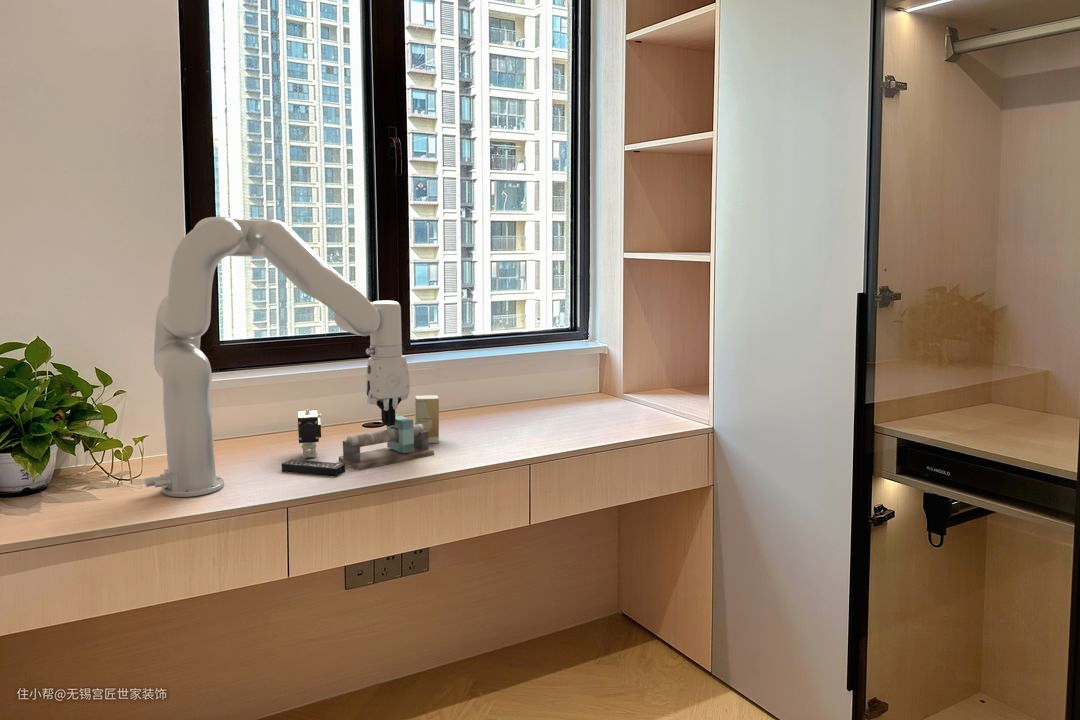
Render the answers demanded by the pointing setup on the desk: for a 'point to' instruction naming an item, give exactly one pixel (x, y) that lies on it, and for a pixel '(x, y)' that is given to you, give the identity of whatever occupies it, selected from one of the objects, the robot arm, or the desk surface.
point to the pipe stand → (386, 454)
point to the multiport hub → (313, 467)
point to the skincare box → (428, 415)
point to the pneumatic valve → (309, 431)
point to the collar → (403, 435)
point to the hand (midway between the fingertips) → (388, 424)
